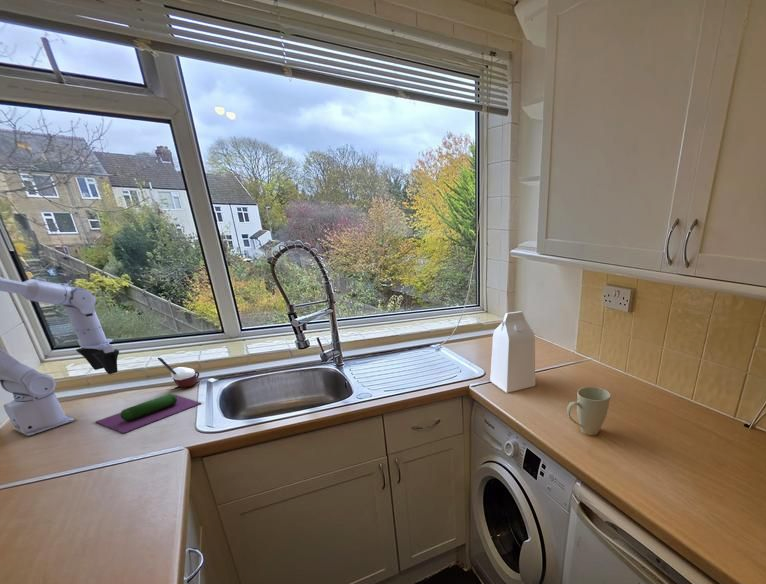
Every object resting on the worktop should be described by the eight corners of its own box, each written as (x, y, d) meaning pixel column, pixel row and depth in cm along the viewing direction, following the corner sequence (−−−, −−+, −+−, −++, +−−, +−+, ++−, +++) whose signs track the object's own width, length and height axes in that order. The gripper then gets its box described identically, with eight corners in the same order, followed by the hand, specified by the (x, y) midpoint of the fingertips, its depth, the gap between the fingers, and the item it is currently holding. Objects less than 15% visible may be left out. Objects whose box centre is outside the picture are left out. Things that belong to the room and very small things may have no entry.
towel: (123, 433, 110) (123, 432, 110) (95, 422, 115) (95, 421, 115) (201, 403, 127) (200, 402, 126) (173, 395, 132) (173, 394, 131)
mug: (576, 419, 122) (580, 383, 117) (609, 428, 118) (614, 390, 113) (563, 436, 113) (567, 398, 108) (598, 446, 109) (603, 406, 104)
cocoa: (200, 379, 143) (190, 347, 138) (204, 384, 139) (194, 352, 134) (166, 387, 137) (154, 353, 132) (170, 393, 133) (158, 358, 128)
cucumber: (126, 424, 114) (124, 415, 113) (118, 418, 115) (116, 409, 113) (180, 404, 126) (179, 396, 124) (172, 399, 127) (171, 390, 125)
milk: (517, 374, 153) (519, 307, 143) (535, 385, 145) (538, 314, 134) (490, 381, 147) (490, 310, 137) (506, 392, 139) (507, 318, 128)
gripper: (118, 328, 120) (134, 370, 126) (92, 322, 125) (109, 362, 131) (88, 334, 114) (106, 378, 120) (61, 327, 119) (80, 370, 125)
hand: (106, 370), depth 125 cm, fingers open, 7 cm apart
